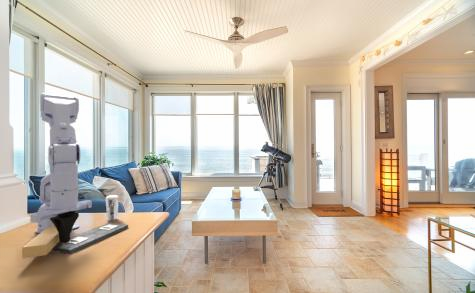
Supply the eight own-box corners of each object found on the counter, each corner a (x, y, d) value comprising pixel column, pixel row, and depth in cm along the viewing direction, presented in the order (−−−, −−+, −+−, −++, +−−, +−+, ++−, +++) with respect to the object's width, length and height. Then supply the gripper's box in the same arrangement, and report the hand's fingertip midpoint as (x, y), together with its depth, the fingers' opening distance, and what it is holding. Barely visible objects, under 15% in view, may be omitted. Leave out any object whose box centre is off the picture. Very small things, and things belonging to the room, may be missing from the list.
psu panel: (47, 250, 61) (47, 245, 61) (108, 225, 80) (108, 221, 80) (70, 253, 59) (70, 248, 59) (128, 227, 78) (128, 223, 78)
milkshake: (115, 221, 84) (115, 194, 84) (102, 221, 85) (102, 193, 86) (123, 218, 89) (123, 192, 89) (111, 217, 90) (111, 191, 90)
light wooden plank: (50, 233, 67) (50, 224, 67) (68, 231, 69) (68, 223, 69) (22, 258, 52) (22, 247, 52) (46, 254, 54) (46, 244, 54)
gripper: (46, 196, 52) (46, 256, 52) (100, 185, 66) (100, 233, 66) (23, 194, 54) (23, 252, 54) (81, 184, 68) (81, 231, 68)
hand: (64, 241), depth 60 cm, fingers closed
